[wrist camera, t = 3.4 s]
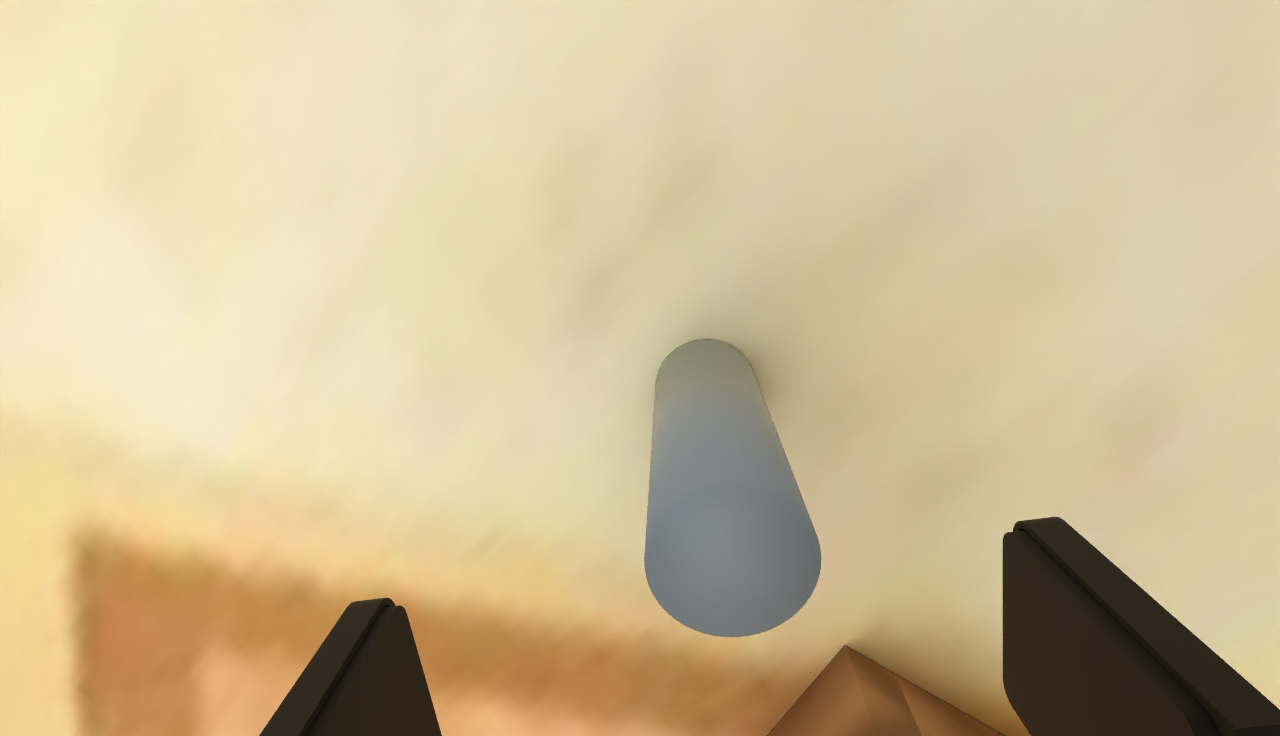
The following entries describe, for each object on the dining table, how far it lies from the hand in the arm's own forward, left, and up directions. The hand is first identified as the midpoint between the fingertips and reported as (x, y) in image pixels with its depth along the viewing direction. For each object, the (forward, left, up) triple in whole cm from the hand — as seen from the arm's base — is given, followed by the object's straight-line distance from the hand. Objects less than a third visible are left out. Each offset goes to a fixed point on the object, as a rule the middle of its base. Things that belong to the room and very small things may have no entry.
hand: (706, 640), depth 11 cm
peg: (0, 0, -12) cm, 12 cm away
